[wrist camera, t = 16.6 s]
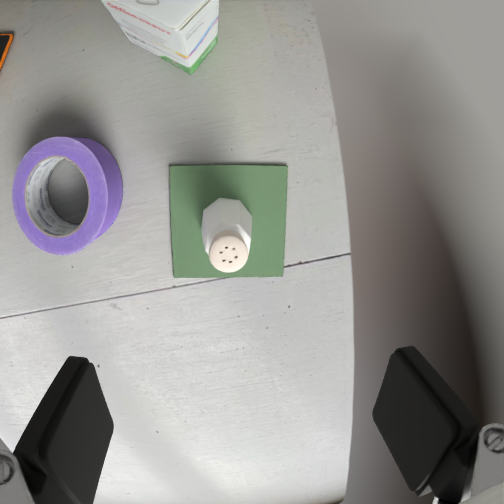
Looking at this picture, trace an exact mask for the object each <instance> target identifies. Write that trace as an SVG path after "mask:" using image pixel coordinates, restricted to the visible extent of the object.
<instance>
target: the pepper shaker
mask: <svg viewBox="0 0 504 504" xmlns="http://www.w3.org/2000/svg"><path fill="white" fill-rule="evenodd" d="M201 232H202V238H203V243H204V249H205V251H206V252H207V254H208V255H209V259H210V261H211V264H212V265H213V266H214V267H215V268H216V269H218V270H220V271H222V272H228V273H229V272H235V271H237V270H239V269H240V268H242V267H243V266H244V265H245V263H246V261H247V259H248V255H249V249H250V243H251V233H252V215H251V214H250V213H249V211H248V210H247V209H246V207H245V206H244V205H243V204H242V202H241V201H240V200H235V199H227V198H218V199H217V200H216V201H215V202H213V203H212V204H211V205H209V206H208V207H207V208H206V209H204V210H203V218H202V227H201Z"/></svg>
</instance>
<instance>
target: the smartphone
mask: <svg viewBox="0 0 504 504" xmlns="http://www.w3.org/2000/svg"><path fill="white" fill-rule="evenodd" d="M12 40H13V35H12V34H0V70H1V67H2V64H3V62H4V59H5V57H6V54H7V52H8V49H9V47H10V44H11V42H12Z"/></svg>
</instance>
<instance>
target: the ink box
mask: <svg viewBox="0 0 504 504" xmlns="http://www.w3.org/2000/svg"><path fill="white" fill-rule="evenodd" d="M101 1H102V3H103V4H104V5H105V7H106V8H107V10H108V11H109V12H110V14H111V15H112V17H113V18H114V19H115V21H116V22H117V24H118V25H119V26H120V28H121V29H122V31H123V32H124V33H125V35H126V36H127V38H128V39H129V40H130V42H132V43H134V44H136V45H138V46H140V47H142V48H144V49H146V50H148V51H150V52H152V53H154V54H155V55H157V56H159V57H161V58H163V59H165V60H166V61H168V62H170V63H172V64H173V65H175V66H177V67H179V68H180V69H182V70H184V71H185V72H187V73H189V74H190V75H191V74H193V73H194V71H195V70H196V69H197V68H198V66H199V65H200V64H201V63H202V61H203V60H204V59H205V58H206V56H207V55H208V54H209V53H210V51H211V50H212V49H213V48H214V47H215V45H216V44H217V36H218V18H219V17H218V15H219V0H101Z"/></svg>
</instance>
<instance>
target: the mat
mask: <svg viewBox="0 0 504 504" xmlns="http://www.w3.org/2000/svg"><path fill="white" fill-rule="evenodd" d="M287 174H288V166H268V165H186V166H170V211H171V236H172V255H173V270H174V278H213V277H280V276H283V267H284V248H285V227H286V202H287ZM218 198H227V199H235V200H240V201H241V202H242V204H243V205H244V206H245V207H246V209H247V210H248V211H249V213H250V214H251V215H252V233H251V243H250V249H249V255H248V259H247V261H246V263H245V265H244V266H243V267H242V268H240V269H239V270H237V271H235V272H229V273H228V272H222V271H220V270H218V269H216V268H215V267H214V266H213V265H212V264H211V261H210V259H209V255H208V254H207V252H206V251H205V249H204V243H203V238H202V232H201V227H202V218H203V210H204V209H206V208H207V207H208V206H209V205H211V204H212V203H213V202H215V201H216V200H217V199H218Z"/></svg>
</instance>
